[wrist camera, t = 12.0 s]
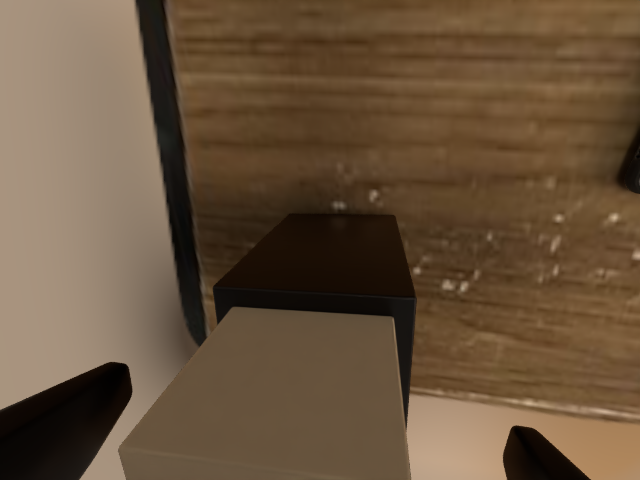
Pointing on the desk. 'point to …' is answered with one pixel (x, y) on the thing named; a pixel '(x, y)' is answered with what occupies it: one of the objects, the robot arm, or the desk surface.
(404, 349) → the stand
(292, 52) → the desk surface
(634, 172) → the smartphone
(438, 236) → the desk surface
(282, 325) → the block
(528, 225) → the desk surface
